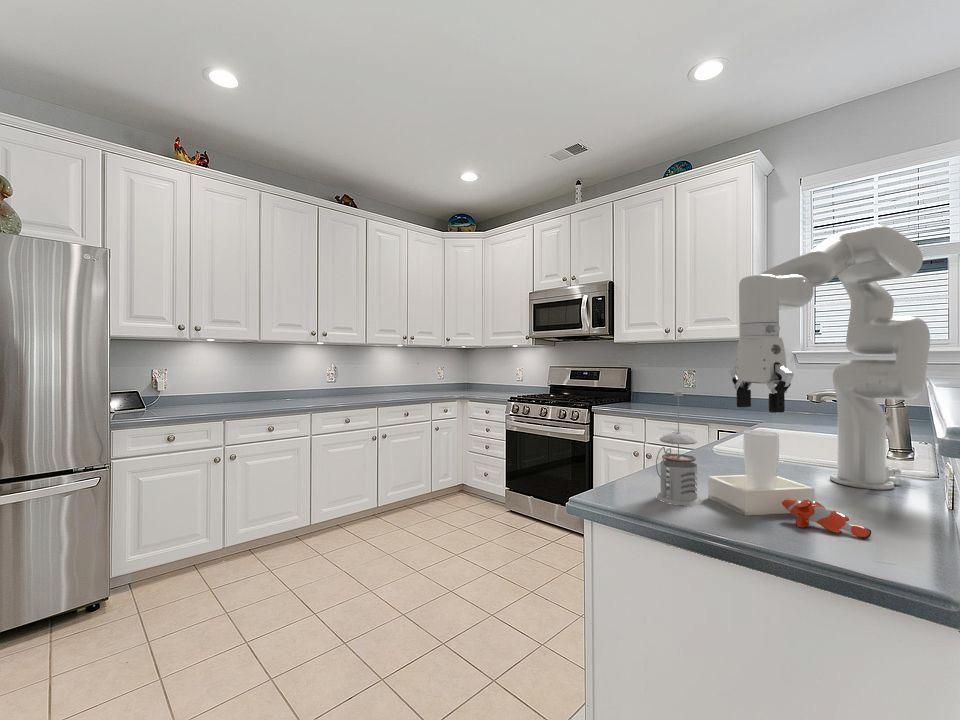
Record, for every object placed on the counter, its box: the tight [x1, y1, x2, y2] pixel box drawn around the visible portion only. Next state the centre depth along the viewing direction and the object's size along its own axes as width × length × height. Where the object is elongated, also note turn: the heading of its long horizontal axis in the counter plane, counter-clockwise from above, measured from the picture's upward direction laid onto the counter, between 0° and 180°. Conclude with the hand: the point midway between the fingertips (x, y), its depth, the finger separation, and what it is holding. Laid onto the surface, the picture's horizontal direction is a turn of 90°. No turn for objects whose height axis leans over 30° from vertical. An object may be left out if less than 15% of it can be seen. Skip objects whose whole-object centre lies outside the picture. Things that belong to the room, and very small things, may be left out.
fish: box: [782, 499, 872, 540], centre depth 87 cm, size 13×5×9 cm
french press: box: [655, 390, 703, 507], centre depth 105 cm, size 10×12×25 cm
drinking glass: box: [742, 429, 781, 490], centre depth 101 cm, size 7×7×15 cm
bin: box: [707, 474, 815, 517], centre depth 101 cm, size 16×12×5 cm
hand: (759, 409), depth 101 cm, fingers open, 9 cm apart
